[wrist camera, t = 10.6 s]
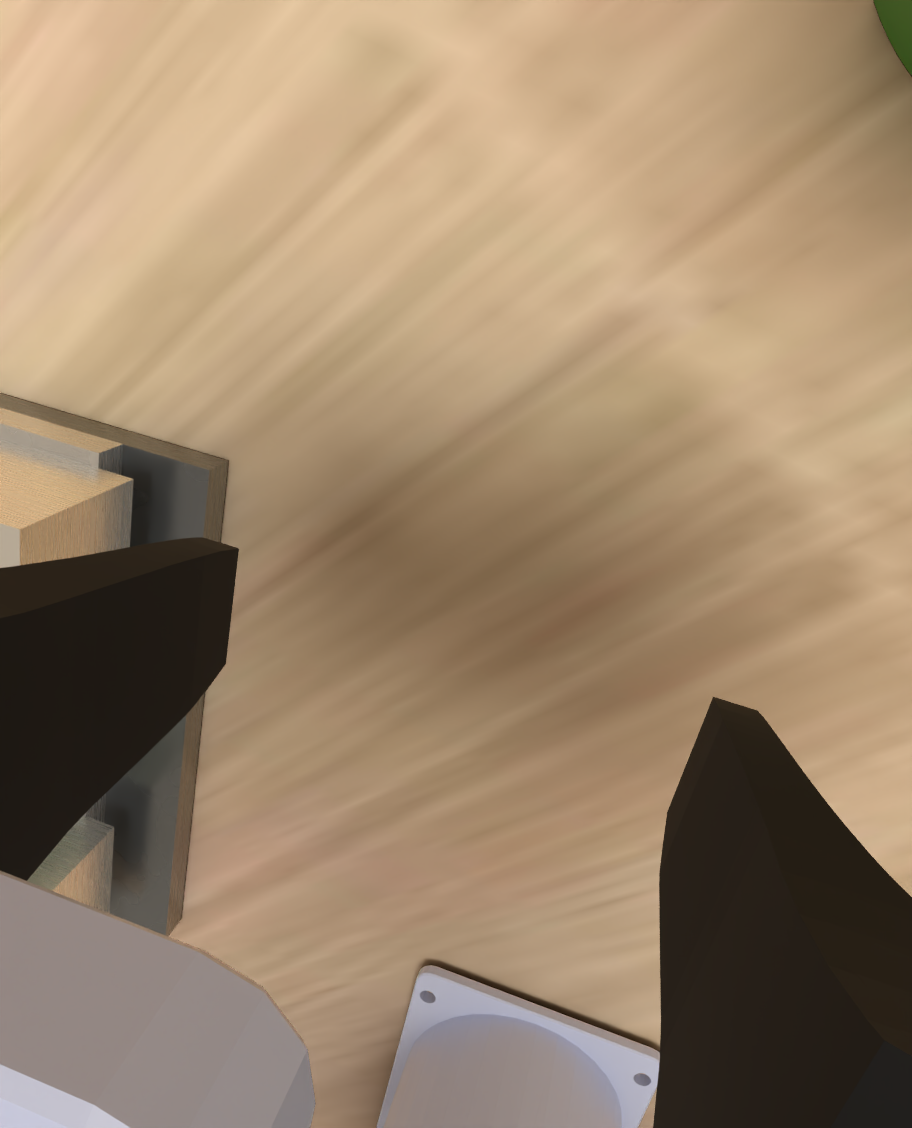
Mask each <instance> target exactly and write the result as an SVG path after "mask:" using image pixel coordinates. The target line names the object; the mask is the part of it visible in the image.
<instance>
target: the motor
mask: <svg viewBox="0 0 912 1128" xmlns="http://www.w3.org/2000/svg"><path fill="white" fill-rule="evenodd" d="M873 1H874V3H875V6H876V9H877V12H878V15H879V18H880V21H881V23H882V25H883V27H884V30H885V32H886V34H887V37H888V39H889V40H890V42H891V44H892V46H893V48H894V50H895V52H896V53H897V55H898V57H899V58H900V60H901V61H902V63H903V64H904V66H905V67H906V69H907V71H908V72H909V73H910V74H911V76H912V0H873Z"/></svg>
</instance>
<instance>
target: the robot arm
mask: <svg viewBox="0 0 912 1128" xmlns="http://www.w3.org/2000/svg"><path fill="white" fill-rule="evenodd" d="M238 551H239V548H235V547H232V546H229V545H226V544H223V543H219V542H216V541H213V540H210V539H207V538H203V537H196V538H182V539H175V540H168V541H161V542H156V543H150V544H144V545H139V546H133V547H128V548H122V549H117V550H111V551H106V552H100V553H95V554H89V555H84V556H78V557H72V558H65V559H59V560H52V561H45V562H39V563H32V564H26V565H19V566H12V567H4V568H0V1128H310V1127H311V1122H312V1117H313V1113H314V1108H315V1104H316V1103H315V1096H314V1090H313V1083H312V1076H311V1069H310V1062H309V1056H308V1049H307V1047H306V1045H305V1044H304V1042H303V1040H302V1038H301V1036H300V1035H299V1034H298V1032H297V1031H296V1030H295V1028H294V1027H293V1026H292V1024H291V1023H290V1022H289V1020H288V1019H287V1018H286V1017H285V1015H284V1014H283V1013H282V1011H281V1010H280V1009H279V1007H278V1006H277V1005H276V1003H275V1002H274V1001H273V999H272V998H271V997H270V996H269V994H268V993H267V992H266V990H265V989H264V988H263V987H262V986H261V985H259V984H257V983H256V982H254V981H253V980H251V979H249V978H248V977H246V976H245V975H243V974H241V973H240V972H238V971H236V970H235V969H233V968H232V967H230V966H228V965H227V964H225V963H223V962H222V961H220V960H219V959H217V958H215V957H214V956H212V955H211V954H209V953H207V952H206V951H204V950H201V949H199V948H196V947H193V946H191V945H188V944H186V943H183V942H181V941H178V940H176V939H173V938H171V937H168V936H165V935H163V934H160V933H158V932H155V931H153V930H150V929H148V928H145V927H142V926H140V925H137V924H135V923H132V922H130V921H127V920H125V919H122V918H120V917H117V916H114V915H112V914H109V913H107V912H104V911H102V910H99V909H97V908H94V907H92V906H89V905H86V904H84V903H81V902H79V901H76V900H74V899H71V898H69V897H66V896H64V895H61V894H58V893H56V892H53V891H51V890H48V889H46V888H43V887H41V886H38V885H36V884H33V883H30V882H28V881H27V880H28V879H29V878H30V877H31V875H32V874H33V873H34V872H35V871H36V869H37V868H38V867H39V866H40V865H41V863H42V862H43V861H44V860H45V859H46V857H47V856H48V855H49V854H50V853H51V851H52V850H53V849H54V848H55V847H56V845H57V844H58V843H59V842H60V841H61V839H62V838H63V837H64V836H65V835H66V833H67V832H68V831H69V830H70V829H71V828H72V827H73V826H74V825H75V824H76V823H77V822H78V821H79V820H80V818H81V817H82V816H83V815H84V814H85V813H86V812H87V811H88V810H89V809H90V808H91V807H92V806H93V805H94V804H95V803H96V802H97V801H98V800H99V799H100V798H101V797H102V796H103V795H104V794H106V793H107V792H108V791H109V790H110V789H111V788H112V787H113V786H114V785H115V784H116V783H117V782H118V781H119V780H120V779H121V778H122V777H123V776H124V775H125V774H126V773H127V772H128V771H129V770H130V769H131V768H132V767H134V766H135V765H136V764H137V763H138V762H139V761H140V760H141V759H142V758H143V757H144V756H145V755H146V754H147V753H148V752H149V751H150V750H151V749H152V748H153V747H154V746H155V745H156V744H157V743H158V742H159V741H160V740H161V739H162V738H163V737H164V736H165V735H166V734H168V733H169V732H170V731H171V730H172V729H173V728H174V727H175V726H176V725H177V724H178V723H179V722H180V721H181V720H182V719H183V718H184V717H185V716H186V715H187V714H188V713H189V712H190V710H191V709H192V708H193V707H194V705H195V704H196V703H197V702H198V700H199V699H200V698H201V696H202V695H203V694H204V693H205V691H206V690H207V689H208V687H209V686H210V685H211V683H212V682H213V681H214V679H215V678H216V676H217V675H218V674H219V672H220V671H221V670H222V668H223V667H224V665H225V664H226V657H227V648H228V639H229V630H230V621H231V613H232V604H233V595H234V586H235V577H236V569H237V560H238ZM659 893H660V978H661V1041H660V1053H659V1052H658V1051H657V1050H655V1049H653V1048H651V1047H648V1046H646V1045H643V1044H640V1043H638V1042H635V1041H632V1040H630V1039H627V1038H624V1037H622V1036H619V1035H617V1034H614V1033H611V1032H609V1031H606V1030H603V1029H601V1028H598V1027H595V1026H593V1025H590V1024H587V1023H585V1022H582V1021H580V1020H577V1019H574V1018H572V1017H569V1016H566V1015H564V1014H561V1013H558V1012H556V1011H553V1010H551V1009H548V1008H545V1007H543V1006H540V1005H537V1004H535V1003H532V1002H529V1001H527V1000H524V999H521V998H519V997H516V996H514V995H511V994H508V993H506V992H503V991H500V990H498V989H495V988H492V987H490V986H487V985H485V984H482V983H479V982H477V981H474V980H471V979H469V978H466V977H463V976H461V975H458V974H455V973H453V972H450V971H448V970H445V969H442V968H440V967H437V966H433V965H429V966H424V967H422V968H421V969H420V971H419V973H418V976H417V979H416V982H415V986H414V990H413V994H412V997H411V1001H410V1005H409V1008H408V1012H407V1016H406V1019H405V1023H404V1027H403V1030H402V1034H401V1038H400V1042H399V1045H398V1049H397V1053H396V1056H395V1060H394V1064H393V1067H392V1071H391V1075H390V1079H389V1082H388V1086H387V1090H386V1093H385V1097H384V1101H383V1104H382V1108H381V1112H380V1115H379V1119H378V1123H377V1127H376V1128H638V1126H639V1124H640V1122H641V1120H642V1118H643V1116H644V1113H645V1111H646V1109H647V1107H648V1105H649V1103H650V1101H651V1099H652V1097H653V1094H654V1092H655V1090H656V1088H657V1094H656V1104H655V1115H654V1126H653V1128H912V897H911V896H910V895H909V894H908V893H907V892H906V891H905V890H904V889H903V888H902V887H901V886H900V885H899V884H898V883H897V882H896V881H895V880H894V879H893V878H892V877H891V876H890V875H889V874H888V873H887V872H886V871H885V870H884V869H883V868H882V867H881V866H880V865H879V864H878V863H877V861H876V860H875V859H874V858H873V857H872V856H871V855H870V854H869V852H868V851H867V850H866V849H865V848H864V847H863V845H862V844H861V843H860V842H859V841H858V840H857V839H856V837H855V836H854V835H853V834H852V833H851V832H850V830H849V829H848V828H847V827H846V826H845V825H844V823H843V822H842V821H841V820H840V818H839V817H838V816H837V815H836V813H835V812H834V811H833V810H832V809H831V807H830V806H829V805H828V804H827V802H826V801H825V800H824V798H823V797H822V796H821V795H820V793H819V792H818V791H817V789H816V788H815V787H814V785H813V784H812V783H811V781H810V780H809V779H808V777H807V776H806V775H805V773H804V772H803V771H802V769H801V768H800V767H799V765H798V764H797V762H796V761H795V760H794V758H793V757H792V756H791V754H790V753H789V751H788V750H787V749H786V747H785V746H784V744H783V743H782V742H781V740H780V739H779V738H778V736H777V735H776V733H775V732H774V731H773V729H772V728H771V727H770V725H769V724H768V723H767V721H766V720H765V719H764V717H763V716H762V715H761V714H760V713H759V712H758V711H757V710H754V709H750V708H747V707H744V706H741V705H738V704H734V703H731V702H728V701H725V700H722V699H718V698H715V697H713V699H712V702H711V704H710V707H709V709H708V712H707V714H706V717H705V719H704V722H703V724H702V727H701V729H700V732H699V734H698V737H697V739H696V742H695V744H694V747H693V749H692V752H691V754H690V757H689V759H688V762H687V764H686V767H685V769H684V772H683V774H682V777H681V779H680V782H679V784H678V787H677V789H676V792H675V794H674V797H673V799H672V802H671V805H670V807H669V810H668V812H667V819H666V826H665V834H664V841H663V849H662V857H661V866H660V881H659ZM428 991H430V992H431V993H429V992H428ZM640 1073H642V1074H640Z"/></svg>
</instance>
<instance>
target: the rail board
mask: <svg viewBox="0 0 912 1128" xmlns="http://www.w3.org/2000/svg"><path fill="white" fill-rule="evenodd" d="M227 470H228V460H225V459H221V458H218V457H215V456H211V455H208V454H204V453H201V452H198V451H194V450H191V449H188V448H184V447H181V446H177V445H174V444H171V443H167V442H164V441H161V440H157V439H154V438H150V437H147V436H144V435H140V434H137V433H134V432H130V431H127V430H123V429H120V428H117V427H113V426H110V425H107V424H103V423H100V422H96V421H93V420H90V419H86V418H83V417H80V416H76V415H73V414H69V413H66V412H63V411H59V410H56V409H53V408H49V407H46V406H42V405H39V404H36V403H32V402H29V401H26V400H22V399H19V398H15V397H12V396H9V395H5V394H2V393H0V568H4V567H12V566H19V565H26V564H32V563H39V562H45V561H52V560H59V559H65V558H72V557H78V556H84V555H89V554H95V553H100V552H106V551H111V550H117V549H122V548H128V547H133V546H139V545H144V544H150V543H156V542H161V541H168V540H175V539H182V538H196V537H203V538H207V539H210V540H213V541H216V542H219V543H220V538H221V529H222V519H223V509H224V499H225V490H226V480H227ZM203 703H204V694H203V695H202V696H201V698H200V699H199V700H198V702H197V703H196V704H195V705H194V707H193V708H192V709H191V710H190V712H189V713H188V714H187V715H186V716H185V717H184V718H183V719H182V720H181V721H180V722H179V723H178V724H177V725H176V726H175V727H174V728H173V729H172V730H171V731H170V732H169V733H168V734H166V735H165V736H164V737H163V738H162V739H161V740H160V741H159V742H158V743H157V744H156V745H155V746H154V747H153V748H152V749H151V750H150V751H149V752H148V753H147V754H146V755H145V756H144V757H143V758H142V759H141V760H140V761H139V762H138V763H137V764H136V765H135V766H134V767H132V768H131V769H130V770H129V771H128V772H127V773H126V774H125V775H124V776H123V777H122V778H121V779H120V780H119V781H118V782H117V783H116V784H115V785H114V786H113V787H112V788H111V789H110V790H109V791H108V792H107V793H106V794H104V795H103V796H102V797H101V798H100V799H99V800H98V801H97V802H96V803H95V804H94V805H93V806H92V807H91V808H90V809H89V810H88V811H87V812H86V813H85V814H84V815H83V816H82V817H81V818H80V820H79V821H78V822H77V823H76V824H75V825H74V826H73V827H72V828H71V829H70V830H69V831H68V832H67V833H66V835H65V836H64V837H63V838H62V839H61V841H60V842H59V843H58V844H57V845H56V847H55V848H54V849H53V850H52V851H51V853H50V854H49V855H48V856H47V857H46V859H45V860H44V861H43V862H42V863H41V865H40V866H39V867H38V868H37V869H36V871H35V872H34V873H33V874H32V875H31V877H30V878H29V879H28V880H27V881H28V882H30V883H33V884H36V885H38V886H41V887H43V888H46V889H48V890H51V891H53V892H56V893H58V894H61V895H64V896H66V897H69V898H71V899H74V900H76V901H79V902H81V903H84V904H86V905H89V906H92V907H94V908H97V909H99V910H102V911H104V912H107V913H109V914H112V915H114V916H117V917H120V918H122V919H125V920H127V921H130V922H132V923H135V924H137V925H140V926H142V927H145V928H148V929H150V930H153V931H155V932H158V933H160V934H163V935H165V936H169V935H170V933H171V932H172V931H173V929H174V928H175V927H176V925H177V924H178V922H179V921H180V920H181V916H182V906H183V897H184V887H185V877H186V868H187V858H188V848H189V838H190V829H191V819H192V809H193V800H194V790H195V780H196V771H197V761H198V751H199V742H200V732H201V722H202V713H203Z"/></svg>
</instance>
